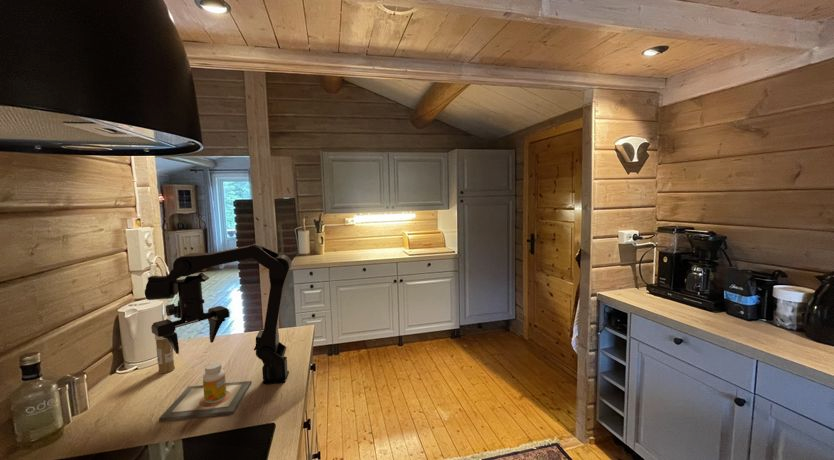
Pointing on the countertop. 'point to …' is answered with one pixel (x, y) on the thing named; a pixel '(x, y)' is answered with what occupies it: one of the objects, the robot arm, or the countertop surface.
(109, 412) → the countertop surface
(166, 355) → the sprinkles bottle
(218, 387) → the supplement bottle
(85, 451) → the countertop surface
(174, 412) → the grey bordered rectangular panel
